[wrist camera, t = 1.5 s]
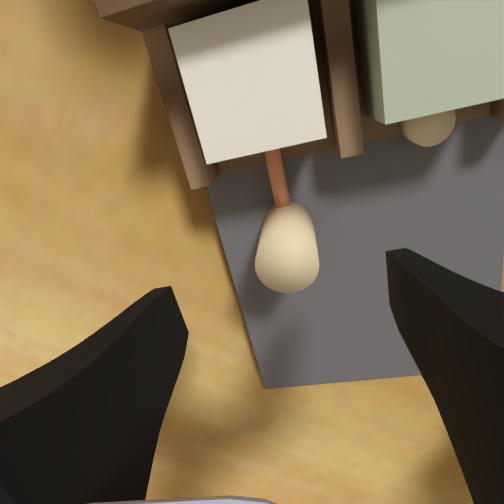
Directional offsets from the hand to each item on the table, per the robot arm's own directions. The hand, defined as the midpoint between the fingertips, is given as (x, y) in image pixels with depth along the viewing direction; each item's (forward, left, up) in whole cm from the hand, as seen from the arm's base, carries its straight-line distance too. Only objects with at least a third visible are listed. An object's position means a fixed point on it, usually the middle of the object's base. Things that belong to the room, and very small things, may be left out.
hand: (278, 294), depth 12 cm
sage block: (+5, -7, -9) cm, 13 cm away
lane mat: (-5, -4, -10) cm, 12 cm away
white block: (+3, 0, -9) cm, 9 cm away
